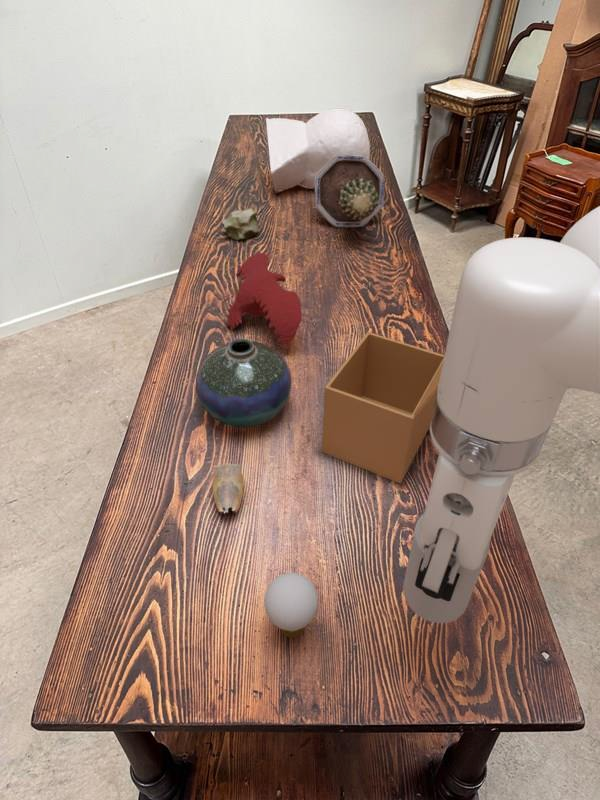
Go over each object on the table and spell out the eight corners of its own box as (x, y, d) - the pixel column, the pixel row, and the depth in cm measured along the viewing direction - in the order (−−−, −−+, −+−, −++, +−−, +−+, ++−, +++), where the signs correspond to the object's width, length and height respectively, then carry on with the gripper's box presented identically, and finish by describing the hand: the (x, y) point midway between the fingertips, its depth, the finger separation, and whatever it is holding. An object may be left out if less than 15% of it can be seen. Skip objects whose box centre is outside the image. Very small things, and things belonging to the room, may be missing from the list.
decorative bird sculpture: (276, 380, 103) (326, 320, 98) (239, 363, 97) (291, 298, 92) (231, 305, 122) (271, 252, 117) (198, 286, 116) (240, 230, 111)
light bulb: (292, 596, 66) (291, 552, 60) (327, 629, 63) (330, 587, 57) (256, 629, 63) (251, 587, 57) (291, 666, 60) (290, 626, 54)
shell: (254, 515, 75) (240, 507, 72) (226, 525, 76) (210, 518, 73) (244, 464, 79) (229, 454, 76) (217, 475, 80) (202, 465, 77)
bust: (343, 165, 174) (375, 95, 153) (356, 216, 164) (391, 148, 144) (253, 150, 164) (274, 73, 143) (261, 202, 154) (285, 128, 134)
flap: (448, 352, 79) (450, 353, 79) (413, 414, 70) (416, 416, 70) (471, 322, 74) (474, 324, 74) (437, 385, 65) (440, 386, 65)
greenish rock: (263, 233, 142) (266, 205, 135) (249, 251, 136) (251, 224, 130) (231, 221, 143) (233, 194, 136) (215, 240, 137) (216, 212, 131)
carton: (433, 420, 89) (448, 356, 80) (400, 483, 79) (413, 419, 70) (360, 395, 93) (367, 331, 84) (321, 452, 84) (324, 387, 75)
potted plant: (311, 149, 143) (323, 160, 117) (377, 151, 144) (405, 162, 118) (308, 218, 151) (319, 242, 125) (371, 219, 153) (395, 243, 126)
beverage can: (473, 627, 52) (502, 560, 43) (406, 626, 52) (422, 560, 44) (459, 566, 56) (484, 496, 48) (398, 566, 56) (411, 496, 48)
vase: (184, 403, 92) (171, 340, 83) (258, 368, 99) (254, 306, 90) (232, 457, 83) (223, 393, 74) (310, 415, 90) (311, 352, 81)
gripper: (515, 540, 30) (458, 666, 42) (566, 365, 41) (509, 505, 53) (390, 490, 33) (370, 622, 45) (469, 339, 44) (435, 478, 56)
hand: (445, 558), depth 49 cm, fingers closed on beverage can, 6 cm apart
